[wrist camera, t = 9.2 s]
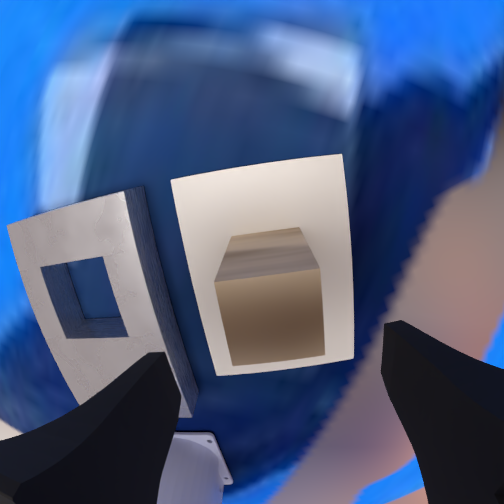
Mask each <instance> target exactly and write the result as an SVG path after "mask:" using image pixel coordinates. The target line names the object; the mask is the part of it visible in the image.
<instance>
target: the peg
mask: <svg viewBox="0 0 504 504" xmlns="http://www.w3.org/2000/svg"><path fill="white" fill-rule="evenodd" d="M214 285H215V290H216V295H217V300H218V304H219V309H220V313H221V318H222V323H223V327H224V331H225V336H226V340H227V345H228V349H229V353H230V358H231V362H232V366H241V365H252V364H262V363H271V362H280V361H288V360H296V359H303V358H310V357H317V356H323V355H325V338H324V318H323V301H322V287H321V273H320V267H319V265H318V263H317V261H316V259H315V257H314V255H313V253H312V251H311V249H310V247H309V245H308V243H307V241H306V239H305V237H304V235H303V233H302V231H301V229H300V228H299V227H296V228H288V229H281V230H273V231H266V232H259V233H251V234H244V235H237V236H231V239H230V241H229V244H228V246H227V249H226V252H225V254H224V257H223V259H222V262H221V265H220V267H219V270H218V273H217V275H216V278H215V280H214Z"/></svg>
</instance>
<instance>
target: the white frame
mask: <svg viewBox="0 0 504 504" xmlns="http://www.w3.org/2000/svg"><path fill="white" fill-rule="evenodd" d="M7 228H8V232H9V236H10V240H11V244H12V248H13V251H14V255H15V258H16V261H17V265H18V268H19V271H20V274H21V277H22V280H23V283H24V286H25V289H26V292H27V295H28V298H29V300H30V303H31V306H32V308H33V311H34V313H35V316H36V318H37V321H38V323H39V326H40V328H41V330H42V333H43V335H44V337H45V339H46V342H47V344H48V346H49V348H50V350H51V352H52V355H53V357H54V359H55V361H56V363H57V365H58V367H59V369H60V371H61V373H62V375H63V376H64V378H65V380H66V382H67V384H68V386H69V388H70V389H71V391H72V393H73V395H74V396H75V398H76V400H77V402H78V403H79V405H81V404H83V403H84V402H86V401H87V400H88V399H90V398H91V397H92V396H94V395H95V394H96V393H98V392H99V391H101V390H102V389H103V388H105V387H106V386H107V385H108V384H110V383H111V382H112V381H113V380H115V379H116V378H117V377H118V376H119V375H121V374H122V373H123V372H124V371H126V370H127V369H128V368H129V367H130V366H132V365H133V364H134V363H135V362H136V361H138V360H139V359H140V358H141V357H143V356H144V355H146V354H147V353H149V352H165V353H166V356H167V359H168V361H169V364H170V367H171V370H172V372H173V375H174V378H175V380H176V383H177V385H178V388H179V391H180V393H181V396H182V397H181V405H180V412H179V417H193V413H194V409H195V405H196V401H197V397H198V393H199V390H198V387H197V384H196V381H195V378H194V375H193V372H192V369H191V366H190V363H189V360H188V357H187V354H186V351H185V348H184V345H183V341H182V338H181V335H180V332H179V328H178V325H177V322H176V318H175V315H174V311H173V308H172V304H171V301H170V297H169V293H168V290H167V286H166V282H165V278H164V274H163V270H162V267H161V263H160V259H159V254H158V250H157V246H156V242H155V238H154V233H153V229H152V224H151V220H150V215H149V210H148V206H147V201H146V196H145V191H144V186H140V187H136V188H132V189H128V190H124V191H119V192H115V193H111V194H108V195H104V196H100V197H96V198H92V199H89V200H85V201H81V202H78V203H74V204H71V205H67V206H64V207H60V208H57V209H54V210H50V211H47V212H44V213H41V214H37V215H34V216H31V217H28V218H26V219H23V220H20V221H17V222H14V223H12V224H9V225H7ZM100 256H103V258H104V262H105V266H106V269H107V272H108V276H109V279H110V282H111V286H112V289H113V292H114V295H115V298H116V301H117V304H118V307H119V310H120V313H121V316H122V317H113V318H98V319H85V318H84V315H83V313H82V310H81V307H80V304H79V302H78V299H77V296H76V293H75V290H74V287H73V284H72V281H71V278H70V275H69V271H68V268H67V265H66V262H71V261H77V260H83V259H88V258H94V257H100Z"/></svg>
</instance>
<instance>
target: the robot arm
mask: <svg viewBox="0 0 504 504" xmlns="http://www.w3.org/2000/svg"><path fill="white" fill-rule="evenodd" d="M381 374H382V377H383V380H384V383H385V387H386V390H387V392H388V396H389V397H390V400H391V402H392V404H393V406H394V408H395V410H396V413H397V415H398V417H399V419H400V421H401V423H402V425H403V427H404V429H405V431H406V433H407V436H408V438H409V440H410V442H411V444H412V446H413V449H414V452H415V454H416V457H417V461H418V464H419V467H420V471H421V474H422V478H423V482H424V486H425V490H426V494H427V499H428V504H504V369H501V368H498V367H495V366H493V365H490V364H487V363H484V362H482V361H479V360H477V359H474V358H472V357H470V356H468V355H466V354H464V353H461V352H459V351H457V350H455V349H453V348H451V347H449V346H448V345H446V344H444V343H442V342H440V341H438V340H437V339H435V338H433V337H431V336H429V335H428V334H426V333H424V332H422V331H421V330H419V329H417V328H415V327H413V326H412V325H410V324H408V323H406V322H404V321H402V320H399V321H395V322H390V323H385V324H384V337H383V352H382V365H381ZM181 397H182V396H181V393H180V391H179V388H178V385H177V383H176V380H175V378H174V375H173V372H172V370H171V367H170V364H169V361H168V359H167V356H166V353H165V352H149V353H147V354H146V355H144V356H143V357H141V358H140V359H139V360H138V361H136V362H135V363H134V364H133V365H132V366H130V367H129V368H128V369H127V370H126V371H124V372H123V373H122V374H121V375H119V376H118V377H117V378H116V379H115V380H113V381H112V382H111V383H110V384H108V385H107V386H106V387H105V388H103V389H102V390H101V391H99V392H98V393H96V394H95V395H94V396H92V397H91V398H90V399H88V400H87V401H86V402H84V403H83V404H81V405H80V406H78V407H77V408H75V409H73V410H72V411H70V412H68V413H67V414H65V415H63V416H62V417H60V418H58V419H56V420H54V421H52V422H50V423H47V424H45V425H43V426H41V427H39V428H37V429H35V430H32V431H29V432H27V433H24V434H21V435H19V436H15V437H12V438H9V439H5V440H1V441H0V504H222V496H223V487H224V485H229V484H232V483H233V479H232V477H231V474H230V472H229V470H228V468H227V465H226V463H225V461H224V458H223V456H222V453H221V451H220V448H219V446H218V444H217V441H216V439H215V436H214V434H212V433H210V432H175V429H176V426H177V422H178V418H179V412H180V405H181Z"/></svg>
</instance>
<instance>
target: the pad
mask: <svg viewBox="0 0 504 504" xmlns="http://www.w3.org/2000/svg"><path fill="white" fill-rule="evenodd" d="M171 185H172V190H173V195H174V201H175V206H176V211H177V216H178V221H179V225H180V230H181V235H182V240H183V244H184V249H185V253H186V258H187V262H188V266H189V271H190V275H191V279H192V284H193V288H194V292H195V296H196V300H197V304H198V308H199V312H200V316H201V320H202V324H203V327H204V331H205V335H206V339H207V342H208V346H209V350H210V353H211V357H212V360H213V364H214V368H215V371H216V374H217V376H223V375H236V374H247V373H258V372H267V371H276V370H284V369H291V368H299V367H306V366H312V365H319V364H325V363H331V362H337V361H342V360H348V359H353V358H354V300H353V272H352V253H351V238H350V225H349V213H348V203H347V193H346V184H345V175H344V167H343V159H342V154H335V155H326V156H316V157H308V158H299V159H291V160H284V161H276V162H269V163H262V164H256V165H249V166H243V167H237V168H231V169H225V170H219V171H213V172H208V173H203V174H197V175H192V176H187V177H182V178H177V179H173V180H171ZM296 227H299V228H300V229H301V231H302V233H303V235H304V237H305V239H306V241H307V243H308V245H309V247H310V249H311V251H312V253H313V255H314V257H315V259H316V261H317V263H318V265H319V267H320V273H321V287H322V301H323V318H324V338H325V355H323V356H317V357H310V358H303V359H296V360H288V361H280V362H271V363H262V364H252V365H241V366H232V362H231V358H230V353H229V349H228V345H227V340H226V336H225V331H224V327H223V323H222V318H221V313H220V309H219V304H218V300H217V295H216V290H215V285H214V280H215V278H216V275H217V273H218V270H219V267H220V265H221V262H222V259H223V257H224V254H225V252H226V249H227V246H228V244H229V241H230V239H231V236H237V235H244V234H251V233H259V232H266V231H273V230H281V229H288V228H296Z"/></svg>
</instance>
